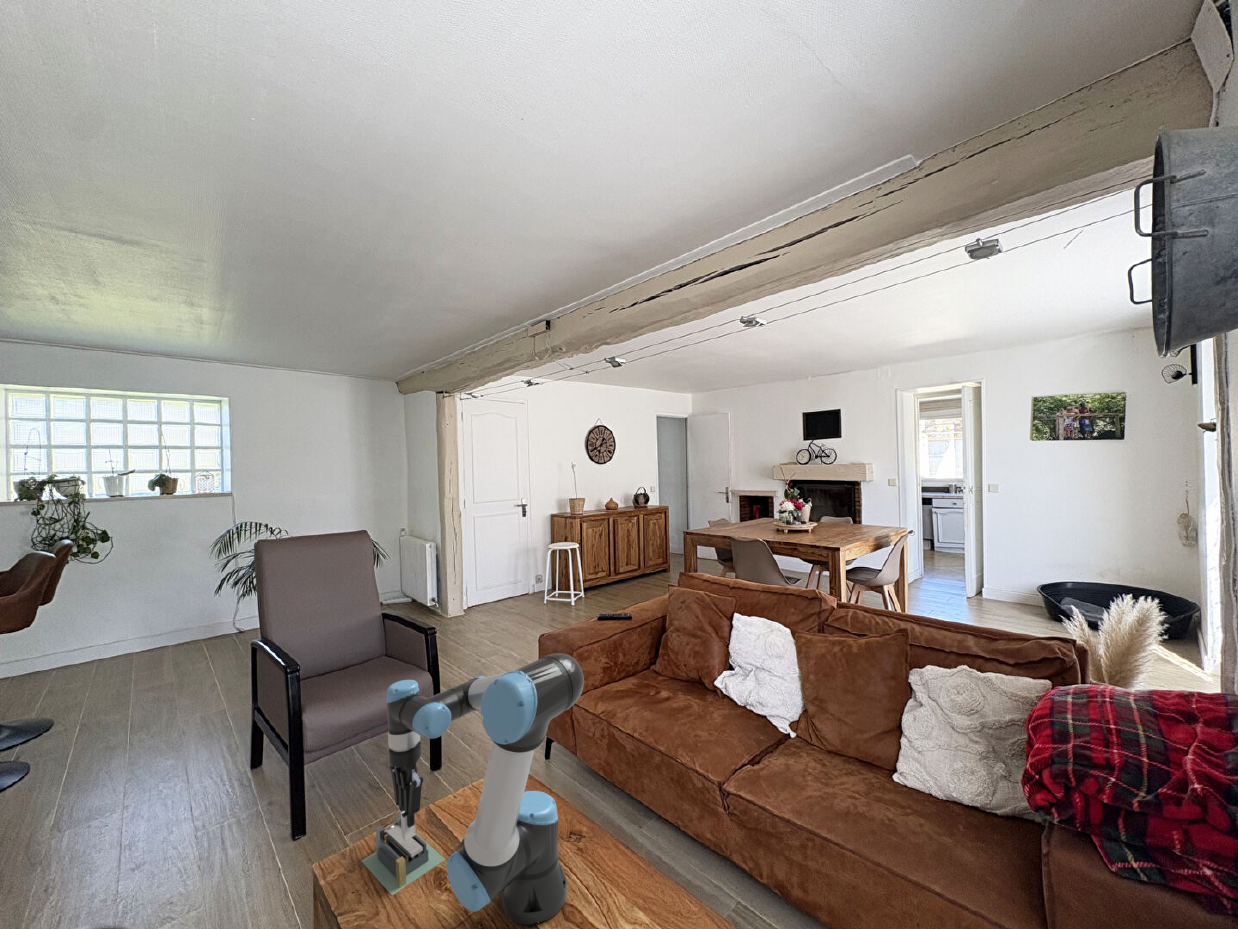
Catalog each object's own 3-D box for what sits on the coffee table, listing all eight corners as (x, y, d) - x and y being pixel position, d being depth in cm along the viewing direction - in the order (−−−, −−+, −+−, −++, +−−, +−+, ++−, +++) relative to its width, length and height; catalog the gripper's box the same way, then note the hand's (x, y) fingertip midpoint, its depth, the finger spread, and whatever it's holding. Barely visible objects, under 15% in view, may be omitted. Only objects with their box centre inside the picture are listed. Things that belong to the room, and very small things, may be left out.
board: (445, 864, 133) (445, 859, 133) (392, 900, 122) (392, 895, 122) (412, 834, 144) (412, 830, 144) (361, 865, 133) (361, 860, 133)
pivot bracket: (405, 843, 139) (404, 817, 139) (380, 858, 134) (379, 831, 134) (401, 839, 140) (400, 813, 140) (376, 854, 135) (375, 827, 135)
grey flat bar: (424, 851, 129) (423, 845, 129) (410, 859, 127) (410, 854, 127) (396, 826, 139) (395, 821, 139) (382, 834, 136) (382, 828, 136)
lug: (406, 883, 125) (405, 859, 125) (399, 888, 124) (398, 863, 124) (402, 880, 126) (402, 856, 126) (396, 884, 125) (395, 860, 125)
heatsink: (428, 861, 132) (427, 842, 132) (398, 881, 126) (397, 861, 126) (407, 841, 139) (407, 823, 139) (378, 859, 133) (377, 841, 133)
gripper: (432, 746, 129) (436, 839, 129) (406, 730, 138) (409, 817, 138) (403, 760, 123) (407, 857, 123) (378, 742, 132) (381, 833, 132)
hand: (408, 836), depth 131 cm, fingers closed
